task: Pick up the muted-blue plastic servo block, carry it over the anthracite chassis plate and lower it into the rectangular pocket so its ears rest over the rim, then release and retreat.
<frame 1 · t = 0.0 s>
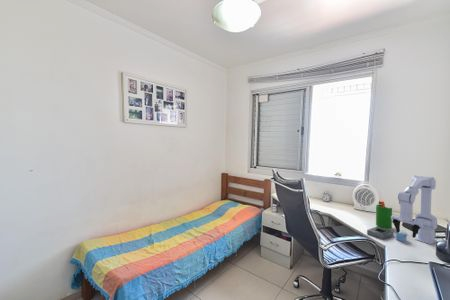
hand: (405, 234, 120), 10 cm above the table, fingers open, 7 cm apart
chassis: (380, 234, 142), on the table
servo: (401, 240, 134), on the table
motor: (383, 226, 158), on the table
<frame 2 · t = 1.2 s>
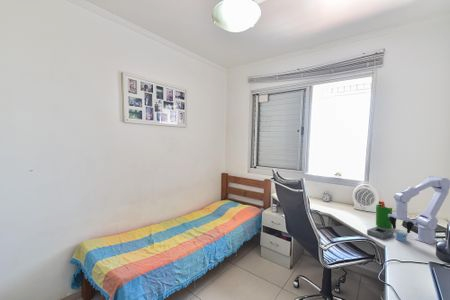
hand: (401, 230, 134), 7 cm above the table, fingers open, 7 cm apart
nothing on the table moved.
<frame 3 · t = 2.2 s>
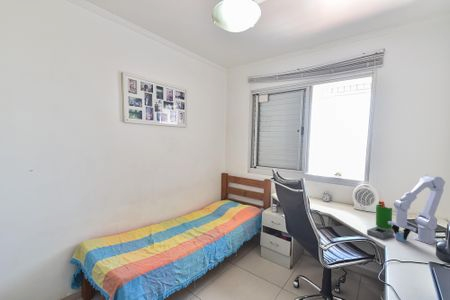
hand: (401, 238, 134), 1 cm above the table, fingers closed on servo, 4 cm apart
servo: (401, 240, 134), on the table, touching gripper
everything else where it was.
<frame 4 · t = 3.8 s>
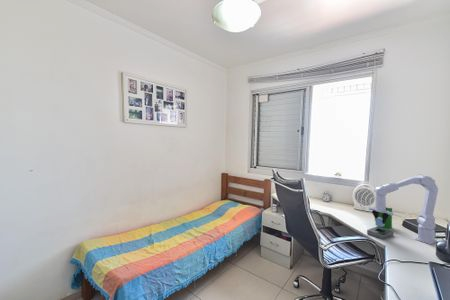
hand: (380, 222, 142), 9 cm above the table, fingers closed on servo, 4 cm apart
servo: (380, 225, 142), point 7 cm above the table, touching gripper
everything else where it was.
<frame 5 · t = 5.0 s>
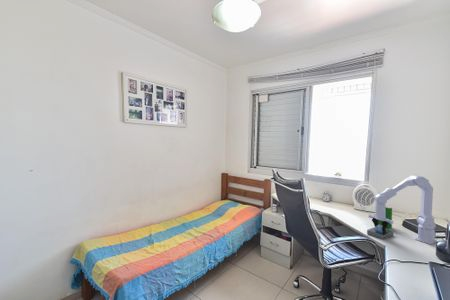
hand: (380, 230, 142), 3 cm above the table, fingers closed on servo, 4 cm apart
servo: (380, 233, 142), point 1 cm above the table, touching gripper
everything else where it was.
when the fingers open (3 cm above the table, at t = 5.7 s): servo drops 1 cm, resting in chassis.
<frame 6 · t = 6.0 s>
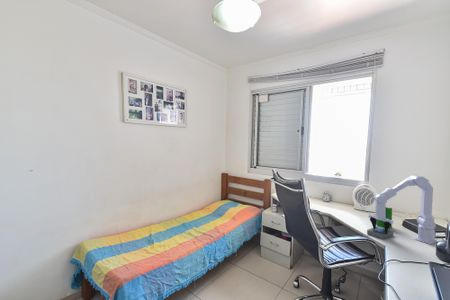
hand: (380, 230, 142), 3 cm above the table, fingers open, 7 cm apart
servo: (379, 234, 142), resting in chassis
everything else where it was.
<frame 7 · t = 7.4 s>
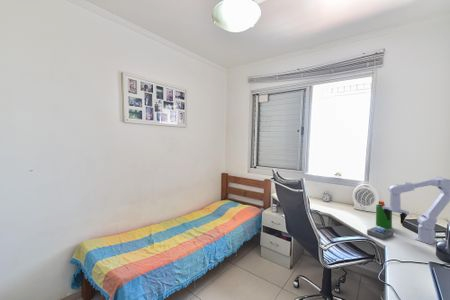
hand: (395, 221, 140), 10 cm above the table, fingers open, 7 cm apart
nothing on the table moved.
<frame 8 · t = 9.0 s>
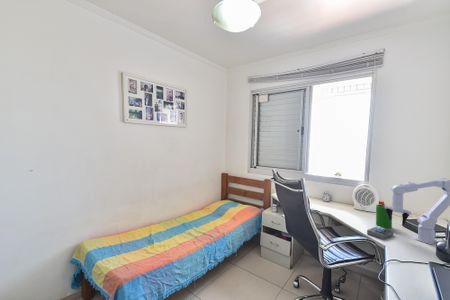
hand: (397, 221, 140), 10 cm above the table, fingers open, 7 cm apart
nothing on the table moved.
at the end: servo 0.3 cm off-centre on the chassis, point 0.0 cm above the chassis's base; servo tilted 0°; the gripper is holding nothing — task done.
